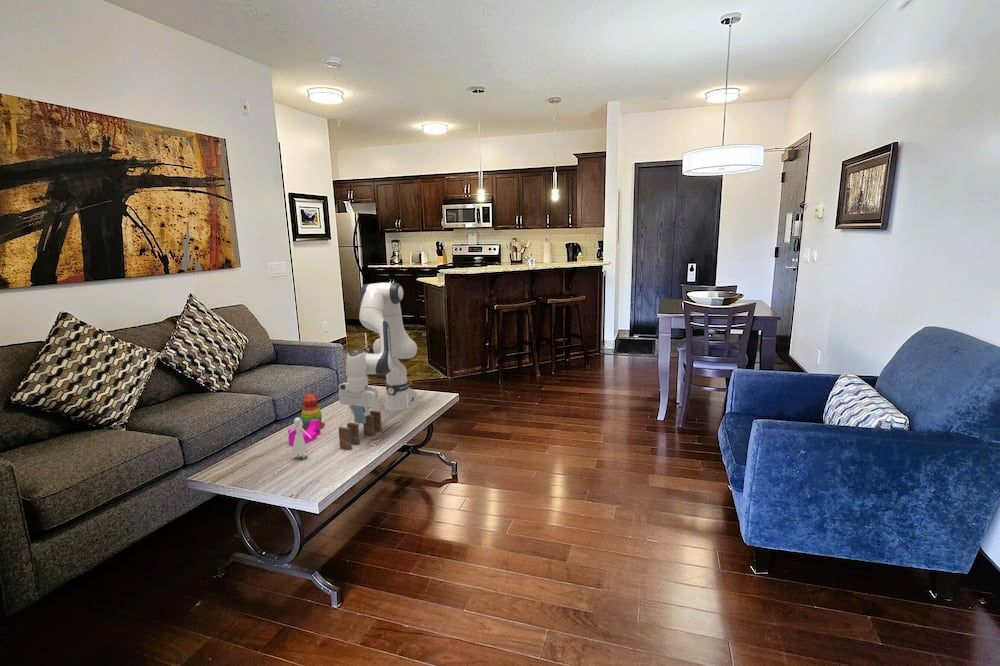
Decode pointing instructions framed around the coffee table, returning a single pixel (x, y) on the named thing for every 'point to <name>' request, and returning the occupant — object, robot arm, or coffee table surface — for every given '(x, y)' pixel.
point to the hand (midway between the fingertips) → (359, 414)
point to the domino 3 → (359, 414)
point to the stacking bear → (311, 411)
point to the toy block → (311, 431)
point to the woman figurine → (299, 439)
